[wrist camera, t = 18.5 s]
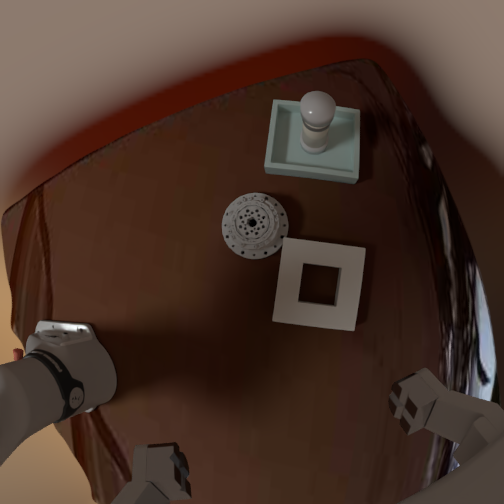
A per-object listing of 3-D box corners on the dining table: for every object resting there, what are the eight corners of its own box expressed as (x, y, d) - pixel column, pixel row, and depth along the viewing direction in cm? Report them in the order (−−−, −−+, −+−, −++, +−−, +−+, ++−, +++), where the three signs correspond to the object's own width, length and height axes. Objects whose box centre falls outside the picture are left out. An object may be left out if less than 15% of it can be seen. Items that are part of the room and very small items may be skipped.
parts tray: (266, 173, 47) (264, 166, 44) (274, 108, 47) (273, 99, 44) (354, 184, 45) (358, 178, 42) (356, 118, 45) (359, 110, 42)
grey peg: (304, 157, 45) (306, 123, 34) (296, 133, 46) (295, 94, 34) (331, 151, 45) (340, 116, 33) (322, 127, 45) (328, 88, 33)
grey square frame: (273, 318, 45) (272, 321, 43) (284, 239, 46) (283, 237, 43) (350, 327, 43) (354, 330, 41) (361, 249, 44) (365, 248, 42)
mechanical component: (237, 269, 47) (298, 244, 46) (231, 268, 42) (299, 242, 41) (214, 209, 48) (273, 185, 47) (207, 203, 43) (271, 177, 42)
